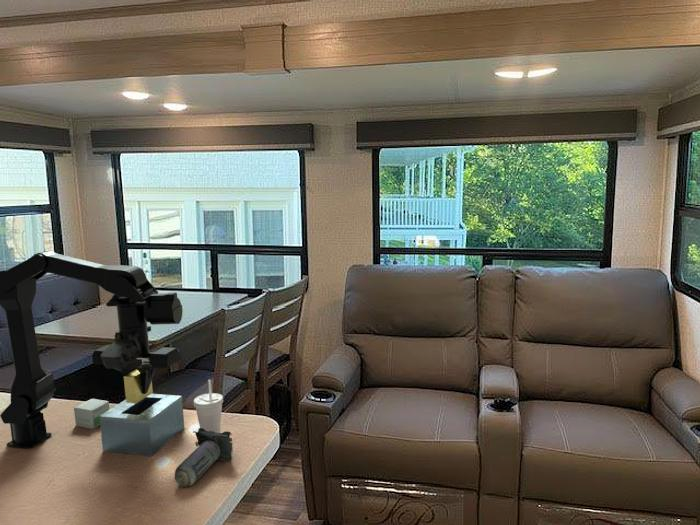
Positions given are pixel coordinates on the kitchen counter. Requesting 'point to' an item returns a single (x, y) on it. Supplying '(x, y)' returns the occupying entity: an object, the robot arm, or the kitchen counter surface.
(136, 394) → the block
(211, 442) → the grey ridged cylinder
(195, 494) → the kitchen counter surface
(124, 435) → the box
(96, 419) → the small box
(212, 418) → the smoothie
